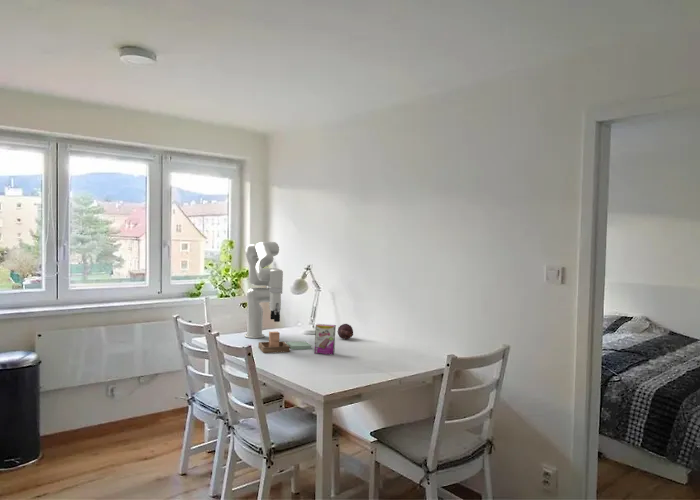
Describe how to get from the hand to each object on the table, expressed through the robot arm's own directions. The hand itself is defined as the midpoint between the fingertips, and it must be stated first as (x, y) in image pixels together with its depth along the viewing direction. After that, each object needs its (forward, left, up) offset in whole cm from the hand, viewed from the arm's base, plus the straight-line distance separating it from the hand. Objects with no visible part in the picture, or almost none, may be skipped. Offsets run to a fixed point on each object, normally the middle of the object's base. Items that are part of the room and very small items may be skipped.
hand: (275, 320), depth 301 cm
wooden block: (-1, 0, -17) cm, 17 cm away
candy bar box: (+14, +26, -17) cm, 34 cm away
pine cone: (-24, +52, -17) cm, 60 cm away
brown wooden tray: (-1, 0, -17) cm, 17 cm away
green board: (-5, +16, -17) cm, 24 cm away
